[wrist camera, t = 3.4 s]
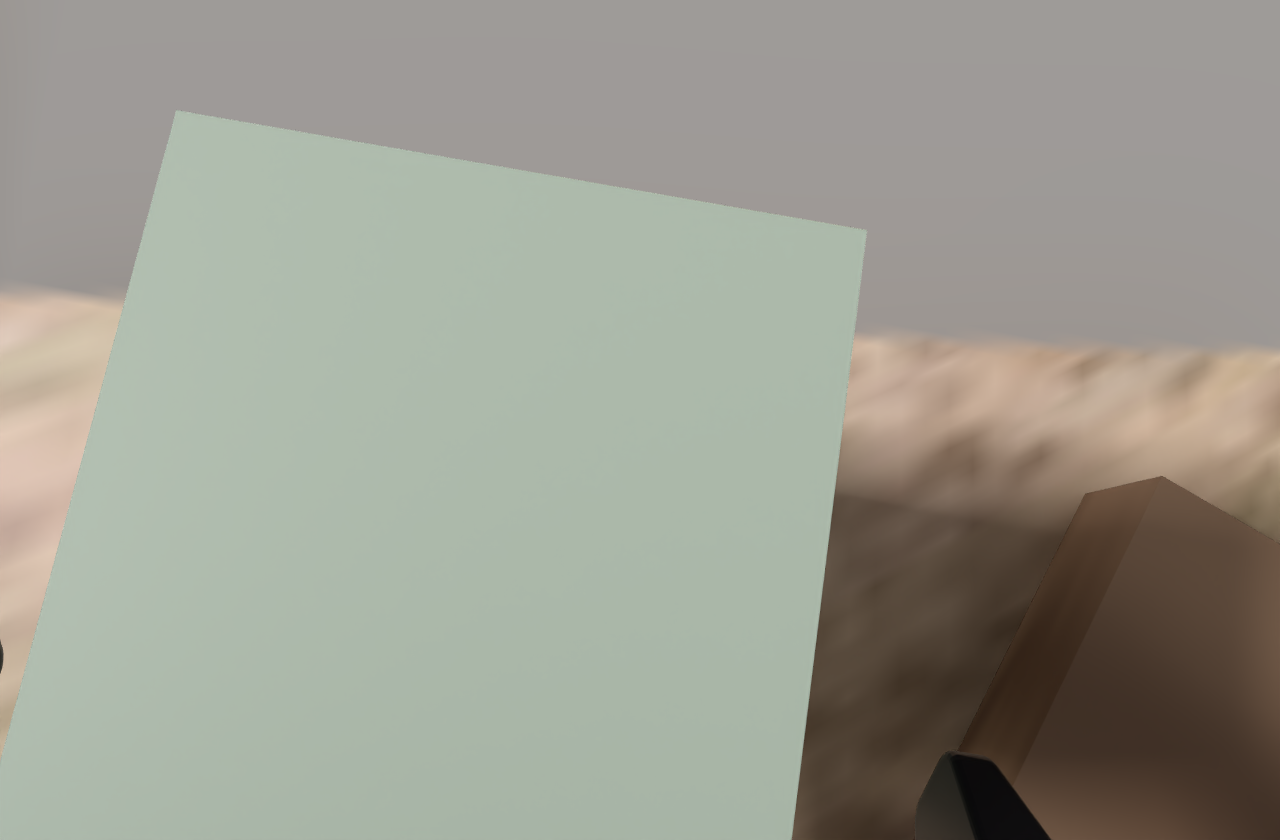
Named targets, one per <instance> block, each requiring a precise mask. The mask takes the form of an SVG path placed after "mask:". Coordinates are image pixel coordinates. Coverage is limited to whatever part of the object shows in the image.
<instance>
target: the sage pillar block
mask: <svg viewBox="0 0 1280 840" xmlns="http://www.w3.org/2000/svg"><path fill="white" fill-rule="evenodd" d="M866 235H867V230H863V229H857V228H851V227H846V226H839V225H834V224H828V223H822V222H816V221H811V220H805V219H799V218H794V217H788V216H782V215H776V214H771V213H765V212H759V211H753V210H748V209H742V208H736V207H730V206H725V205H719V204H713V203H707V202H702V201H696V200H690V199H684V198H679V197H673V196H667V195H661V194H655V193H650V192H644V191H638V190H632V189H627V188H621V187H615V186H609V185H604V184H598V183H592V182H586V181H580V180H575V179H569V178H563V177H557V176H551V175H546V174H540V173H534V172H529V171H523V170H517V169H512V168H505V167H500V166H494V165H488V164H483V163H477V162H471V161H465V160H459V159H454V158H448V157H442V156H437V155H430V154H425V153H419V152H414V151H408V150H402V149H396V148H390V147H384V146H379V145H373V144H367V143H362V142H356V141H350V140H344V139H339V138H333V137H327V136H321V135H316V134H310V133H304V132H298V131H293V130H286V129H281V128H275V127H269V126H264V125H258V124H252V123H247V122H241V121H235V120H229V119H223V118H218V117H212V116H206V115H200V114H194V113H188V112H183V111H176V114H175V118H174V121H173V125H172V129H171V133H170V136H169V140H168V144H167V147H166V151H165V155H164V159H163V162H162V166H161V170H160V173H159V177H158V181H157V184H156V188H155V192H154V195H153V199H152V203H151V206H150V210H149V214H148V217H147V221H146V225H145V229H144V232H143V236H142V240H141V244H140V247H139V251H138V255H137V258H136V262H135V265H134V269H133V273H132V277H131V280H130V284H129V288H128V291H127V295H126V299H125V302H124V306H123V310H122V313H121V317H120V321H119V325H118V328H117V332H116V336H115V339H114V343H113V347H112V350H111V354H110V358H109V361H108V365H107V369H106V373H105V376H104V380H103V384H102V387H101V391H100V395H99V398H98V402H97V406H96V409H95V413H94V417H93V421H92V424H91V428H90V432H89V435H88V439H87V443H86V446H85V450H84V454H83V457H82V461H81V465H80V469H79V472H78V476H77V480H76V483H75V487H74V491H73V494H72V498H71V502H70V505H69V509H68V513H67V517H66V520H65V524H64V528H63V531H62V535H61V539H60V542H59V546H58V550H57V553H56V557H55V561H54V565H53V568H52V572H51V576H50V579H49V583H48V587H47V590H46V594H45V598H44V601H43V605H42V609H41V613H40V616H39V620H38V624H37V627H36V631H35V635H34V638H33V642H32V646H31V649H30V653H29V657H28V661H27V664H26V668H25V672H24V675H23V679H22V683H21V686H20V690H19V694H18V697H17V701H16V705H15V709H14V712H13V716H12V720H11V723H10V727H9V731H8V734H7V738H6V742H5V745H4V749H3V753H2V757H1V760H0V840H792V832H793V824H794V816H795V808H796V800H797V792H798V783H799V775H800V767H801V759H802V751H803V743H804V735H805V727H806V719H807V711H808V703H809V695H810V687H811V679H812V670H813V662H814V654H815V646H816V638H817V630H818V622H819V614H820V606H821V598H822V590H823V582H824V574H825V566H826V557H827V549H828V541H829V533H830V525H831V517H832V509H833V501H834V493H835V485H836V477H837V469H838V461H839V453H840V444H841V436H842V428H843V420H844V412H845V404H846V396H847V388H848V380H849V372H850V364H851V356H852V348H853V340H854V331H855V323H856V315H857V307H858V299H859V291H860V282H861V275H862V267H863V259H864V250H865V242H866Z"/></svg>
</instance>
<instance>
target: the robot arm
mask: <svg viewBox="0 0 1280 840" xmlns="http://www.w3.org/2000/svg"><path fill="white" fill-rule="evenodd" d="M2 666H3V648H2V645H1V641H0V673H1V670H2ZM915 840H1052V839H1051V838H1050V837H1049V835H1048V834H1047V833H1046V831H1045V830H1044V829H1043V827H1042V826H1041V824H1040V823H1039V822H1038V820H1037V819H1036V818H1035V816H1034V815H1033V814H1032V812H1031V811H1030V809H1029V808H1028V807H1027V805H1026V804H1025V803H1024V801H1023V800H1022V799H1021V797H1020V796H1019V795H1018V793H1017V792H1016V790H1015V789H1014V788H1013V786H1012V785H1011V784H1010V782H1009V781H1008V780H1007V778H1006V777H1005V776H1004V774H1003V773H1002V771H1001V770H1000V769H999V767H998V766H997V765H996V764H995V763H994V762H993V761H992V760H991V759H990V758H988V757H986V756H983V755H978V754H972V753H966V752H959V751H948V752H946V753H945V754H943V755H942V757H941V758H940V760H939V762H938V764H937V766H936V768H935V770H934V772H933V774H932V776H931V778H930V779H929V781H928V783H927V785H926V787H925V789H924V791H923V793H922V795H921V797H920V800H919V802H918V805H917V809H916V815H915Z"/></svg>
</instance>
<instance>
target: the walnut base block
mask: <svg viewBox="0 0 1280 840" xmlns="http://www.w3.org/2000/svg"><path fill="white" fill-rule="evenodd" d="M958 751H959V752H966V753H972V754H978V755H983V756H986V757H988V758H990V759H991V760H992V761H993V762H994V763H995V764H996V765H997V766H998V767H999V769H1000V770H1001V771H1002V773H1003V774H1004V776H1005V777H1006V778H1007V780H1008V781H1009V782H1010V784H1011V785H1012V786H1013V788H1014V789H1015V790H1016V792H1017V793H1018V795H1019V796H1020V797H1021V799H1022V800H1023V801H1024V803H1025V804H1026V805H1027V807H1028V808H1029V809H1030V811H1031V812H1032V814H1033V815H1034V816H1035V818H1036V819H1037V820H1038V822H1039V823H1040V824H1041V826H1042V827H1043V829H1044V830H1045V831H1046V833H1047V834H1048V835H1049V837H1050V838H1051V839H1052V840H1280V544H1279V543H1277V542H1275V541H1274V540H1272V539H1270V538H1269V537H1267V536H1265V535H1263V534H1262V533H1260V532H1258V531H1256V530H1255V529H1253V528H1251V527H1249V526H1248V525H1246V524H1244V523H1243V522H1241V521H1239V520H1237V519H1236V518H1234V517H1232V516H1230V515H1229V514H1227V513H1225V512H1223V511H1222V510H1220V509H1218V508H1217V507H1215V506H1213V505H1211V504H1210V503H1208V502H1206V501H1204V500H1203V499H1201V498H1199V497H1198V496H1196V495H1194V494H1192V493H1191V492H1189V491H1187V490H1185V489H1184V488H1182V487H1180V486H1178V485H1177V484H1175V483H1173V482H1172V481H1170V480H1168V479H1166V478H1165V477H1163V476H1160V477H1156V478H1152V479H1147V480H1143V481H1139V482H1134V483H1130V484H1126V485H1121V486H1117V487H1113V488H1109V489H1104V490H1100V491H1096V492H1091V493H1087V494H1085V495H1084V497H1083V499H1082V501H1081V503H1080V505H1079V507H1078V510H1077V512H1076V514H1075V516H1074V518H1073V520H1072V522H1071V524H1070V526H1069V528H1068V530H1067V532H1066V534H1065V536H1064V538H1063V540H1062V542H1061V544H1060V546H1059V548H1058V550H1057V552H1056V554H1055V556H1054V558H1053V560H1052V562H1051V564H1050V566H1049V568H1048V570H1047V572H1046V574H1045V576H1044V578H1043V580H1042V582H1041V584H1040V586H1039V588H1038V590H1037V592H1036V594H1035V596H1034V598H1033V600H1032V602H1031V604H1030V606H1029V608H1028V610H1027V612H1026V614H1025V616H1024V618H1023V620H1022V622H1021V624H1020V627H1019V629H1018V631H1017V633H1016V635H1015V637H1014V639H1013V641H1012V643H1011V645H1010V647H1009V649H1008V651H1007V653H1006V655H1005V657H1004V659H1003V661H1002V663H1001V665H1000V667H999V669H998V671H997V673H996V675H995V677H994V679H993V681H992V683H991V685H990V687H989V689H988V691H987V693H986V695H985V697H984V699H983V701H982V703H981V705H980V707H979V709H978V711H977V713H976V715H975V717H974V719H973V721H972V723H971V725H970V727H969V729H968V731H967V733H966V735H965V737H964V739H963V741H962V744H961V746H960V748H959V750H958ZM914 840H915V838H914Z"/></svg>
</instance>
